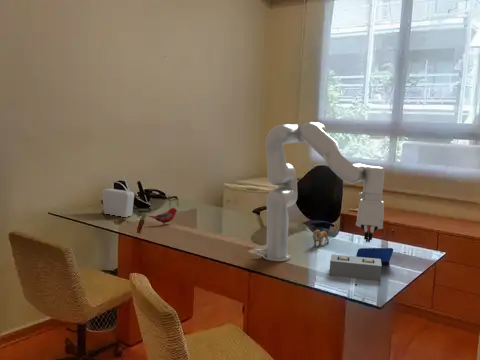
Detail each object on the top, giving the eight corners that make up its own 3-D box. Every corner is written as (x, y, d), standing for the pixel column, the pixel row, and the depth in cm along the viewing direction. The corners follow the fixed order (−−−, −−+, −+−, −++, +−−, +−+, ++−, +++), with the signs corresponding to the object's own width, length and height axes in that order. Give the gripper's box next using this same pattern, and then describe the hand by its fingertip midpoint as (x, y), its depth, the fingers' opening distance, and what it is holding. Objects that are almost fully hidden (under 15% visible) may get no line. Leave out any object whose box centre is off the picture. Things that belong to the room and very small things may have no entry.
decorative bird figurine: (178, 225, 279) (178, 207, 277) (147, 226, 272) (147, 209, 271) (177, 224, 281) (177, 207, 280) (146, 225, 275) (146, 208, 273)
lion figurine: (320, 249, 236) (321, 231, 235) (310, 247, 239) (310, 229, 238) (330, 243, 249) (331, 225, 248) (320, 241, 252) (321, 224, 251)
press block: (329, 275, 198) (330, 260, 197) (331, 267, 208) (331, 254, 207) (380, 280, 193) (381, 265, 192) (379, 272, 203) (380, 258, 202)
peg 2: (362, 275, 198) (363, 261, 197) (362, 273, 201) (363, 259, 201) (372, 276, 197) (373, 262, 196) (371, 274, 201) (372, 259, 200)
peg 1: (337, 273, 200) (338, 259, 200) (338, 270, 204) (339, 256, 203) (346, 274, 199) (347, 259, 199) (347, 271, 203) (348, 257, 202)
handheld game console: (381, 259, 223) (383, 240, 221) (393, 269, 209) (394, 248, 208) (348, 259, 222) (349, 239, 220) (357, 269, 208) (358, 247, 207)
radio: (136, 216, 298) (136, 176, 295) (126, 218, 291) (126, 177, 288) (111, 211, 310) (111, 172, 307) (101, 213, 303) (100, 174, 300)
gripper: (352, 196, 193) (348, 241, 196) (392, 200, 190) (387, 246, 192) (353, 193, 200) (349, 237, 203) (391, 197, 197) (386, 241, 200)
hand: (367, 241), depth 198 cm, fingers closed
